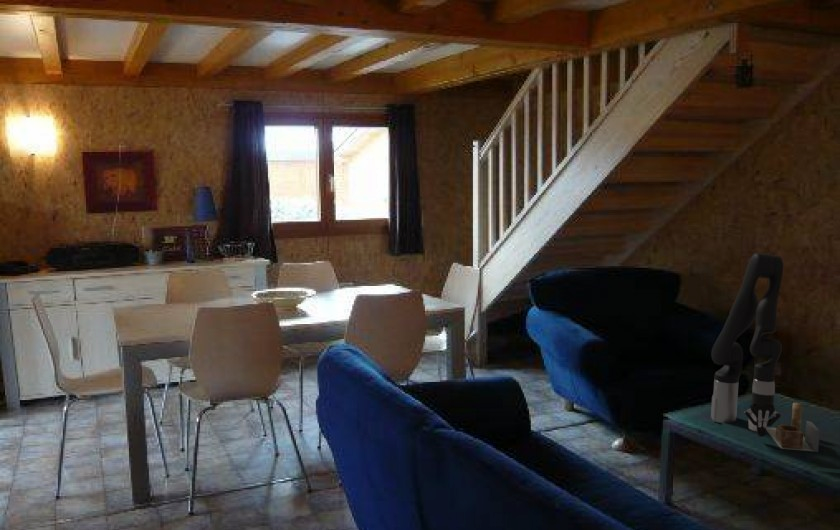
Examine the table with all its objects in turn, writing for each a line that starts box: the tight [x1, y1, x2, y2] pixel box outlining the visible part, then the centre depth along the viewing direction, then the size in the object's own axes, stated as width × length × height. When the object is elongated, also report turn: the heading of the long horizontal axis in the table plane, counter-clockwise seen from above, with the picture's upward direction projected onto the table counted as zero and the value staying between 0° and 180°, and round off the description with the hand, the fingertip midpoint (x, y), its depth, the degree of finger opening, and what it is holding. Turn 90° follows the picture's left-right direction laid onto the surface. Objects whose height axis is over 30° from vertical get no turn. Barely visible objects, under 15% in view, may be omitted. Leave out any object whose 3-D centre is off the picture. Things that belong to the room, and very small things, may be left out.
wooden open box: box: [775, 423, 804, 448], centre depth 257 cm, size 7×8×6 cm
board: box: [766, 426, 817, 453], centre depth 264 cm, size 12×23×1 cm, turn 167°
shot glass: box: [747, 412, 757, 432], centre depth 274 cm, size 7×7×7 cm
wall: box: [804, 420, 821, 453], centre depth 256 cm, size 2×10×8 cm, turn 167°
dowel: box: [790, 402, 803, 430], centre depth 268 cm, size 3×3×12 cm
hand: (760, 436), depth 259 cm, fingers closed
